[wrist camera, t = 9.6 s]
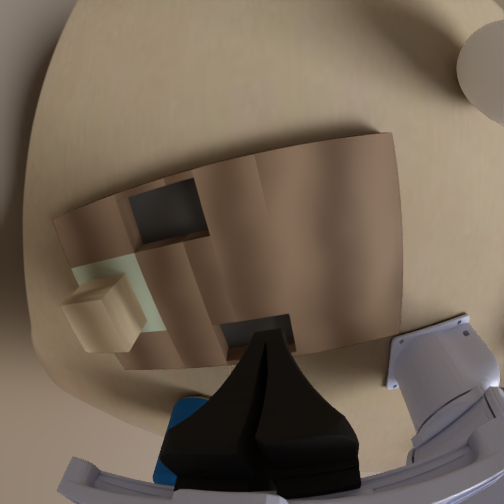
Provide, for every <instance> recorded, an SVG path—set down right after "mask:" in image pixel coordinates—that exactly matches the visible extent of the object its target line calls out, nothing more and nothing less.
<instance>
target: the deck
mask: <svg viewBox="0 0 504 504" xmlns="http://www.w3.org/2000/svg"><path fill="white" fill-rule="evenodd" d="M52 220H53V223H54V226H55V229H56V231H57V234H58V237H59V240H60V242H61V245H62V248H63V250H64V253H65V255H66V258H67V260H68V263H69V265H70V267H71V270H72V272H73V274H74V276H75V279H76V281H77V283H78V285H79V287H80V286H81V285H82V284H83V283H84V282H85V281H88V280H93V279H98V278H103V277H108V276H113V275H118V274H123V273H126V274H127V277H128V279H129V281H130V284H131V286H132V288H133V291H134V293H135V295H136V297H137V300H138V302H139V304H140V306H141V308H142V311H143V313H144V315H145V317H146V319H147V322H146V324H145V326H144V327H143V329H142V331H141V332H140V334H139V336H138V338H137V339H136V341H135V343H134V344H133V346H132V348H131V350H130V351H129V352H114V353H115V355H116V356H117V358H118V359H119V361H120V363H121V364H122V366H123V367H124V369H125V370H153V369H182V368H199V367H213V366H224V365H234V364H238V362H239V360H240V359H241V357H242V355H243V354H244V352H245V350H246V348H247V346H248V344H249V342H250V340H251V338H252V336H253V334H254V333H255V332H259V331H265V330H271V329H277V328H282V329H284V332H285V337H286V341H287V345H288V348H289V350H290V352H291V354H292V356H293V357H294V356H300V355H306V354H312V353H317V352H322V351H328V350H332V349H337V348H342V347H347V346H351V345H356V344H360V343H364V342H368V341H372V340H376V339H380V338H384V337H388V336H392V335H395V334H399V333H400V322H401V308H402V289H403V233H402V213H401V199H400V188H399V179H398V170H397V162H396V155H395V148H394V142H393V136H392V133H373V134H364V135H356V136H348V137H341V138H334V139H327V140H321V141H314V142H309V143H303V144H297V145H292V146H287V147H281V148H276V149H271V150H267V151H262V152H257V153H253V154H248V155H244V156H240V157H236V158H231V159H227V160H223V161H219V162H216V163H212V164H208V165H204V166H200V167H197V168H193V169H190V170H186V171H183V172H179V173H176V174H173V175H169V176H166V177H163V178H160V179H156V180H153V181H150V182H147V183H144V184H141V185H138V186H135V187H132V188H129V189H126V190H124V191H121V192H118V193H115V194H112V195H110V196H107V197H104V198H102V199H99V200H97V201H94V202H91V203H89V204H86V205H84V206H81V207H79V208H76V209H74V210H72V211H69V212H67V213H65V214H63V215H60V216H58V217H56V218H54V219H52Z"/></svg>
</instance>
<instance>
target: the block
mask: <svg viewBox="0 0 504 504" xmlns="http://www.w3.org/2000/svg"><path fill="white" fill-rule="evenodd" d="M60 307H61V309H62V311H63V313H64V314H65V316H66V318H67V320H68V322H69V324H70V325H71V327H72V329H73V331H74V332H75V334H76V336H77V338H78V339H79V341H80V343H81V344H82V346H83V347H84V349H85V351H86V352H87V353H113V352H129V351H130V350H131V348H132V346H133V344H134V343H135V341H136V339H137V338H138V336H139V334H140V332H141V331H142V329H143V327H144V326H145V324H146V322H147V319H146V317H145V315H144V313H143V311H142V308H141V306H140V304H139V302H138V300H137V297H136V295H135V293H134V291H133V288H132V286H131V284H130V281H129V279H128V277H127V274H126V273H123V274H118V275H113V276H108V277H103V278H98V279H93V280H88V281H85V282H84V283H83V284H82V285H81V286H80V287H79V288H78V289H77V290H75V291H74V292H73V293H72V294H71V295H70V296H69V297H68V298H67V299H66V300H65V301H64V302H63V303H62V304H61V305H60Z"/></svg>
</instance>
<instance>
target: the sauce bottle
mask: <svg viewBox="0 0 504 504" xmlns="http://www.w3.org/2000/svg"><path fill="white" fill-rule="evenodd" d="M456 68H457V78H458V82H459V85H460V87H461V89H462V91H463V93H464V95H465V96H466V98H467V99H468V100H469V101H470V103H471V104H472V105H473V106H474V107H475V108H477V109H478V110H479V111H480V112H482V113H483V114H484V115H485V116H487V117H488V118H490V119H491V120H493V121H495V122H497V123H499V124H500V125H503V126H504V20H500V21H495V22H492V23H489V24H487V25H485V26H483V27H481V28H479V29H478V30H477V31H475V32H474V33H473V34H472V35H471V36H470V37H469V38H468V39H467V40H466V42H465V43H464V45H463V47H462V49H461V51H460V53H459V57H458V60H457V66H456Z"/></svg>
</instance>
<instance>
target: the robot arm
mask: <svg viewBox="0 0 504 504" xmlns="http://www.w3.org/2000/svg"><path fill="white" fill-rule="evenodd" d="M469 318H470V317H469V315H468V314H464V315H462V316H459V317H456V318H454V319H451V320H448V321H445V322H442V323H439V324H436V325H433V326H430V327H427V328H424V329H421V330H417V331H414V332H411V333H407V334H404V335H400V336H397V337H394V338H393V339H392V341H391V351H390V360H389V368H388V376H387V383H386V388H387V390H392V389H395V388H400V390H401V393H402V395H403V398H404V400H405V403H406V405H407V408H408V411H409V413H410V416H411V419H412V421H413V424H414V427H415V430H416V432H417V434H416V435H415V436H414V437H413V438H412V439H411V440H412V443H413V446H414V448H412V449H411V450H410V451H409V453H408V456H407V462H406V466H403V467H400V468H397V469H394V470H390V471H387V472H384V473H380V474H376V475H373V476H369V477H365V478H360V471H359V460H358V450H359V442H358V439H357V436H356V434H355V432H354V430H353V428H352V427H351V425H350V424H349V422H348V421H347V419H346V418H345V416H344V415H342V414H341V413H340V412H338V411H337V410H336V409H335V408H333V407H332V406H331V405H330V404H329V403H328V402H327V401H326V400H325V399H324V398H323V397H322V396H321V395H320V394H319V393H318V392H317V391H316V390H315V389H314V388H313V386H312V385H311V384H310V383H309V381H308V380H307V379H306V377H305V376H304V375H303V373H302V372H301V370H300V369H299V367H298V365H297V364H296V362H295V360H294V358H293V356H292V354H291V352H290V350H289V348H288V345H287V341H286V337H285V332H284V329H282V328H277V329H271V330H265V331H259V332H255V333H254V334H253V336H252V338H251V340H250V342H249V344H248V346H247V348H246V350H245V352H244V354H243V355H242V357H241V359H240V360H239V362H238V364H237V365H236V367H235V368H234V370H233V371H232V373H231V374H230V376H229V377H228V378H227V380H226V381H225V382H224V384H223V385H222V386H221V387H220V388H219V390H218V391H217V392H216V393H215V394H214V395H213V396H212V397H211V398H210V399H209V400H208V401H207V402H206V403H205V404H204V405H203V406H202V407H200V408H199V409H198V410H197V411H195V412H194V413H193V414H192V415H190V416H189V417H188V418H186V419H185V420H183V421H182V422H180V423H178V424H177V425H175V426H174V427H172V428H170V429H169V430H168V431H167V434H166V436H165V438H164V441H163V444H162V448H161V451H160V454H159V459H160V461H161V462H162V463H163V464H164V465H165V466H166V467H167V468H168V469H169V470H170V471H171V472H173V473H174V474H175V475H176V476H177V478H176V482H175V486H174V487H173V486H167V485H161V484H155V483H149V482H144V481H140V480H135V479H131V478H127V477H123V476H118V475H115V474H111V473H107V472H104V471H101V470H99V469H98V468H97V467H96V466H95V465H93V464H92V463H90V462H88V461H86V460H82V459H79V458H77V457H72V459H71V461H70V463H69V465H68V467H67V469H66V471H65V473H64V476H63V478H62V480H61V482H60V484H59V486H58V489H57V491H58V493H60V494H62V495H63V496H65V497H66V498H68V499H69V500H71V501H73V502H74V503H76V504H504V391H503V390H502V389H501V388H500V387H499V382H500V371H499V367H498V363H497V360H496V358H495V356H494V355H493V353H492V352H491V351H490V349H489V348H488V347H487V345H486V344H485V343H484V341H483V340H482V339H481V338H480V336H479V335H478V334H477V333H476V331H475V330H474V329H473V328H472V326H471V325H470V324H469ZM400 340H401V341H400Z"/></svg>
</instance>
